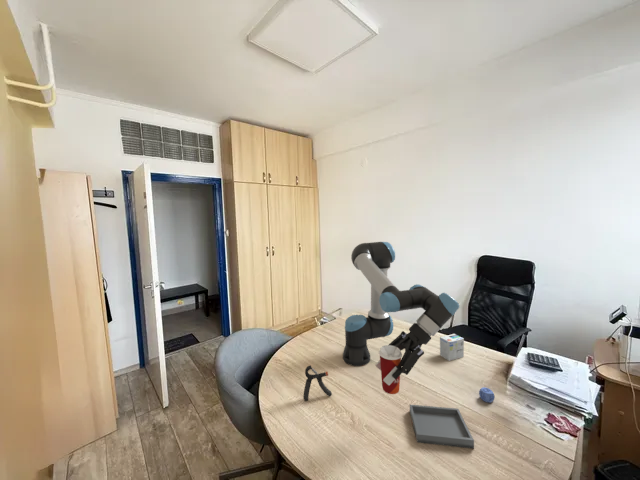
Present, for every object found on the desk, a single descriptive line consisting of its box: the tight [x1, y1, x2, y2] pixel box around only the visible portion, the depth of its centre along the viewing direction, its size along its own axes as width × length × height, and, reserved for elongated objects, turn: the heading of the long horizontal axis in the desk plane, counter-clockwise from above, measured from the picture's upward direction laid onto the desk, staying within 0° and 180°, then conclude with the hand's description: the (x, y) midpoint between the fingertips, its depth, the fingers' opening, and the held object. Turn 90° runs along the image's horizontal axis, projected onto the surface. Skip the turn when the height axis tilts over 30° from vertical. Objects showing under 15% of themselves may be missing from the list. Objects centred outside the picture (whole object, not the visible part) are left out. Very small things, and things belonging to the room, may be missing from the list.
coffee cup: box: [378, 344, 403, 395], centre depth 92 cm, size 8×8×15 cm
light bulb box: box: [439, 333, 465, 362], centre depth 138 cm, size 11×7×11 cm, turn 108°
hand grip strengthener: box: [303, 365, 333, 402], centre depth 109 cm, size 2×12×15 cm, turn 99°
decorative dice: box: [478, 386, 496, 404], centre depth 105 cm, size 4×4×4 cm
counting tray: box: [409, 404, 475, 450], centre depth 92 cm, size 18×14×3 cm
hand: (381, 374), depth 92 cm, fingers closed on coffee cup, 8 cm apart
